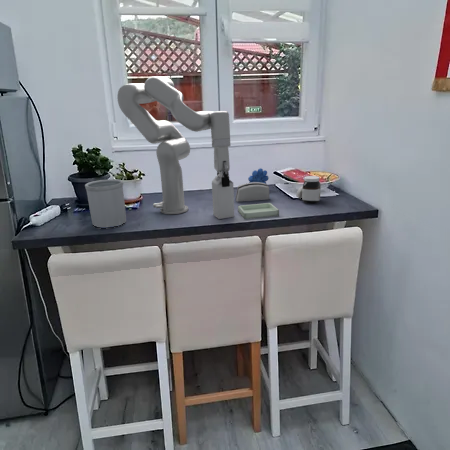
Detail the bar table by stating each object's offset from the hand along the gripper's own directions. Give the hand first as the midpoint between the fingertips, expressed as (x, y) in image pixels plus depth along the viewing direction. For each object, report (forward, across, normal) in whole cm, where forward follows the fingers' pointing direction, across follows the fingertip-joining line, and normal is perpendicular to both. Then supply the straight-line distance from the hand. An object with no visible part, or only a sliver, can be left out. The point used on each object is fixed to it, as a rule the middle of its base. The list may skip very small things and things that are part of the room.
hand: (223, 184), depth 164 cm
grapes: (+14, -38, +25) cm, 48 cm away
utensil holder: (+14, -5, -49) cm, 51 cm away
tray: (+14, +1, +14) cm, 20 cm away
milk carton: (+14, 0, -1) cm, 14 cm away
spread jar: (+15, -11, +42) cm, 46 cm away
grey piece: (+14, -22, +18) cm, 32 cm away
